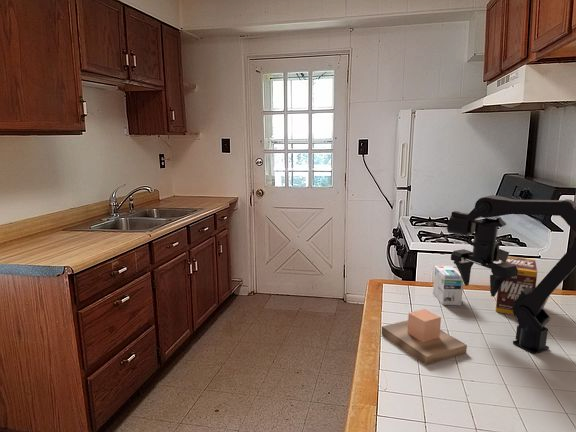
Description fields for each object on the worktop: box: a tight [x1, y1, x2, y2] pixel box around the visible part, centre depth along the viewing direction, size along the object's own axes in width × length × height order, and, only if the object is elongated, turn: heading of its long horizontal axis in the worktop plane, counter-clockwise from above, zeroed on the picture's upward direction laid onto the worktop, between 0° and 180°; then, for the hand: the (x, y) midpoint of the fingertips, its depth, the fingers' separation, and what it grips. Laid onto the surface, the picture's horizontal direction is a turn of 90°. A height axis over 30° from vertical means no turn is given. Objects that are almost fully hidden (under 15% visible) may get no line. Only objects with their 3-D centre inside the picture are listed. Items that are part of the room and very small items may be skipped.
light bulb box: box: [432, 265, 464, 306], centre depth 145 cm, size 11×7×11 cm, turn 179°
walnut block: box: [381, 319, 468, 366], centre depth 115 cm, size 18×14×3 cm
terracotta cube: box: [407, 308, 442, 342], centre depth 114 cm, size 6×6×6 cm
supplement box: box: [495, 255, 538, 316], centre depth 139 cm, size 10×15×16 cm
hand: (479, 290), depth 122 cm, fingers open, 9 cm apart
